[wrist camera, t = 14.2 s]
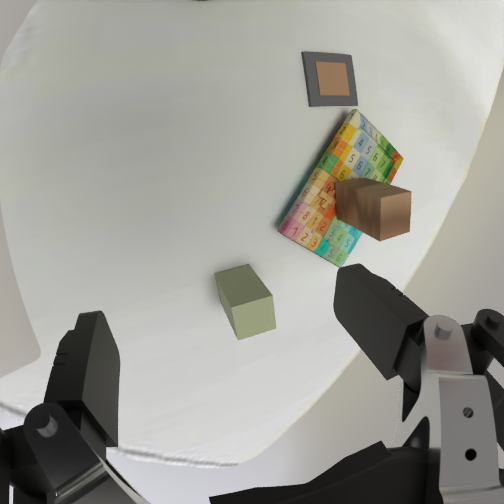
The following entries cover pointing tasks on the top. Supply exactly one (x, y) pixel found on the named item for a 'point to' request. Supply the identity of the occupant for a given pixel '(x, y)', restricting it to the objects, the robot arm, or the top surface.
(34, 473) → the robot arm
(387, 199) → the walnut block
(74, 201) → the top surface
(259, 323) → the olive block
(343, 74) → the tile
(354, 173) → the puzzle game
